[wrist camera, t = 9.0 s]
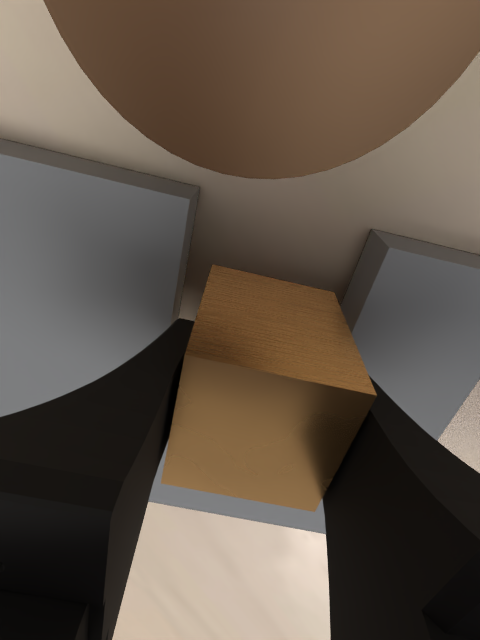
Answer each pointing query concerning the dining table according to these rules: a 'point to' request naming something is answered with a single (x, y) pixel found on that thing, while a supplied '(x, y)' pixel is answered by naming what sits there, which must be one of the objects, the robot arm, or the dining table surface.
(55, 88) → the dining table surface
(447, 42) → the bobbin
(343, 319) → the block
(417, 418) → the notched board
